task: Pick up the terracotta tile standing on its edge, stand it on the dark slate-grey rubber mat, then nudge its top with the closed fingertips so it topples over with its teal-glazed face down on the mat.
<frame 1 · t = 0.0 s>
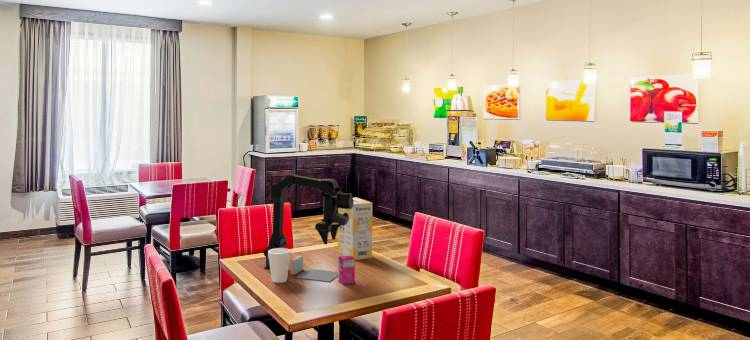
hand: (329, 242, 240), 15 cm above the table, fingers open, 9 cm apart
tile: (296, 271, 244), on the table
pasta box: (354, 255, 274), on the table
mat: (319, 275, 238), on the table
foam cup: (279, 280, 231), on the table
supplement box: (346, 283, 229), on the table
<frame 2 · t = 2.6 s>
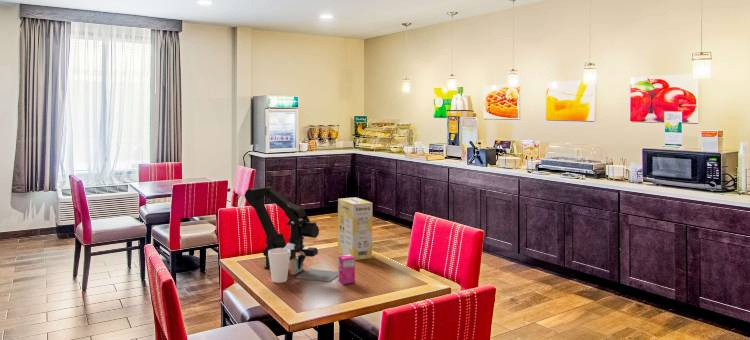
hand: (296, 268, 244), 1 cm above the table, fingers closed on tile, 2 cm apart
tile: (296, 271, 244), on the table, touching gripper
everything else where it was.
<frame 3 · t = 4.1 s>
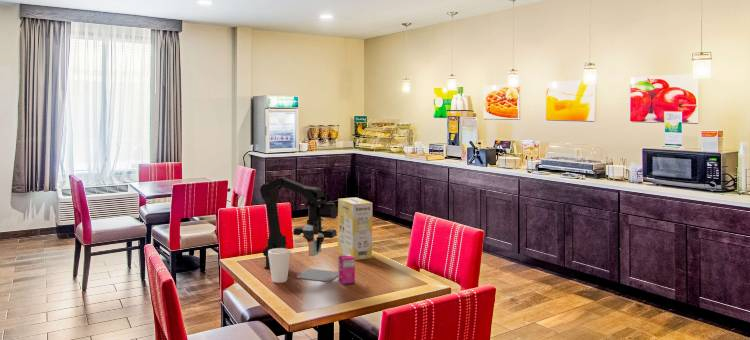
hand: (315, 251, 238), 11 cm above the table, fingers closed on tile, 2 cm apart
tile: (315, 253, 238), point 10 cm above the table, touching gripper
everything else where it was.
when the fingers open (2 cm above the table, at t = 5.8 s): tile stays where it is, resting on mat.
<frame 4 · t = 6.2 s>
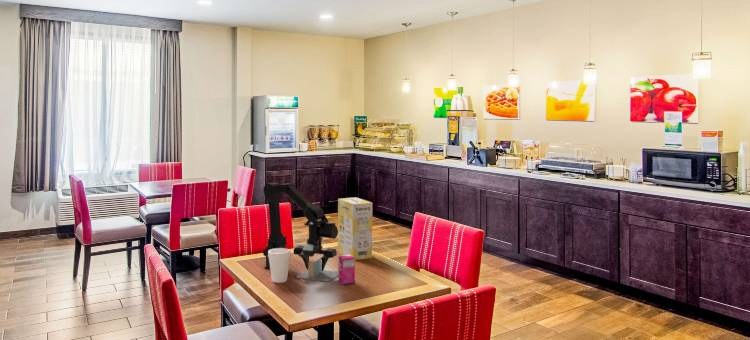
hand: (315, 270, 239), 2 cm above the table, fingers open, 7 cm apart
tile: (314, 274, 239), resting on mat
everything else where it was.
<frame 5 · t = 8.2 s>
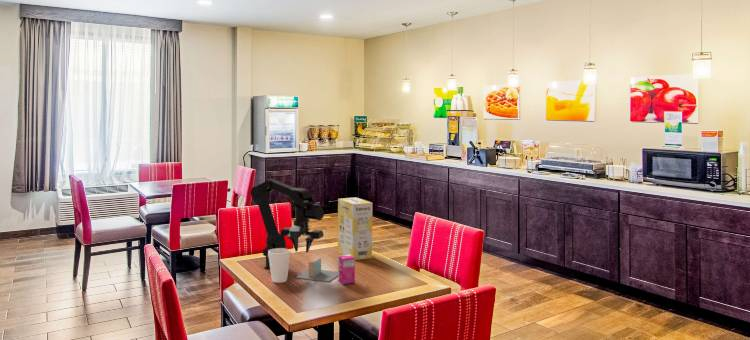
hand: (301, 251, 240), 10 cm above the table, fingers open, 5 cm apart
nothing on the table moved.
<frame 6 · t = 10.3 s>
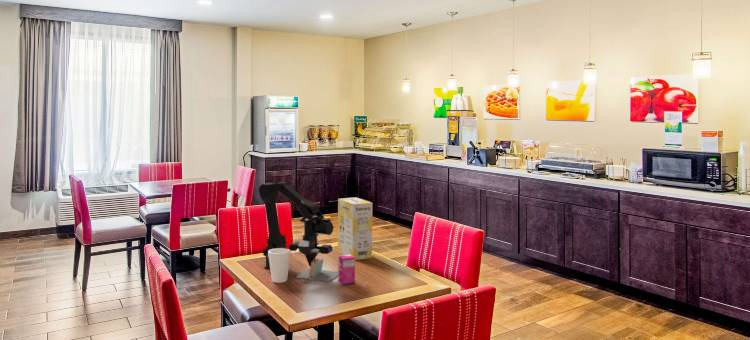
hand: (310, 266, 239), 4 cm above the table, fingers closed
tile: (314, 273, 239), point 1 cm above the table, tilted 12°, touching gripper, mat
everything else where it was.
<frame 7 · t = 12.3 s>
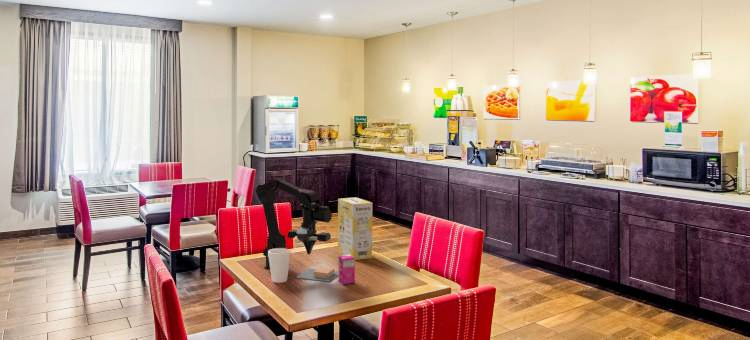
hand: (308, 254, 239), 9 cm above the table, fingers closed
tile: (317, 271, 238), point 2 cm above the table, tilted 90°, touching mat
everything else where it was.
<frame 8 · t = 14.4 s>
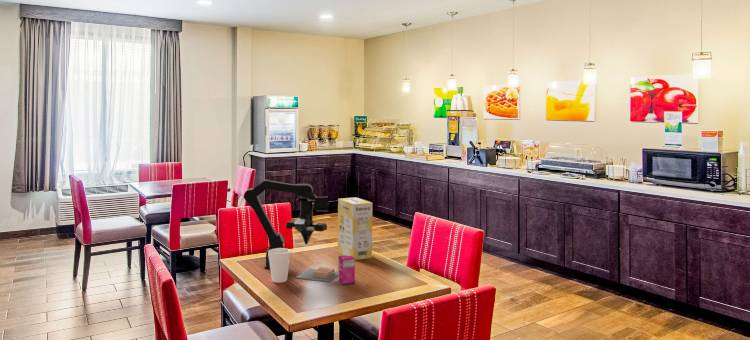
hand: (306, 244, 250), 11 cm above the table, fingers closed
nothing on the table moved.
at the end: tile tilted 90°; tile inside the target area (2.3 cm from its centre), point 1.6 cm above the table; the gripper is holding nothing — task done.
